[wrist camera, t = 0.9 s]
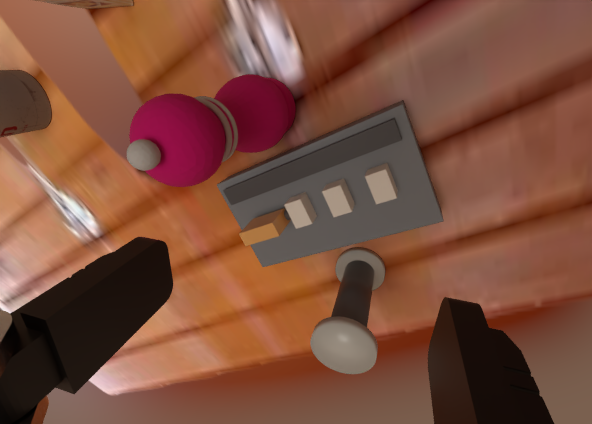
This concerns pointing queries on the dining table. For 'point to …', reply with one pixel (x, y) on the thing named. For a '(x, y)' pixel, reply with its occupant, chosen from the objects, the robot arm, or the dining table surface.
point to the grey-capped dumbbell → (350, 315)
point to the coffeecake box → (91, 3)
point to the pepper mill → (208, 128)
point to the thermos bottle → (22, 103)
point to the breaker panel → (365, 209)
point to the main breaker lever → (265, 227)
